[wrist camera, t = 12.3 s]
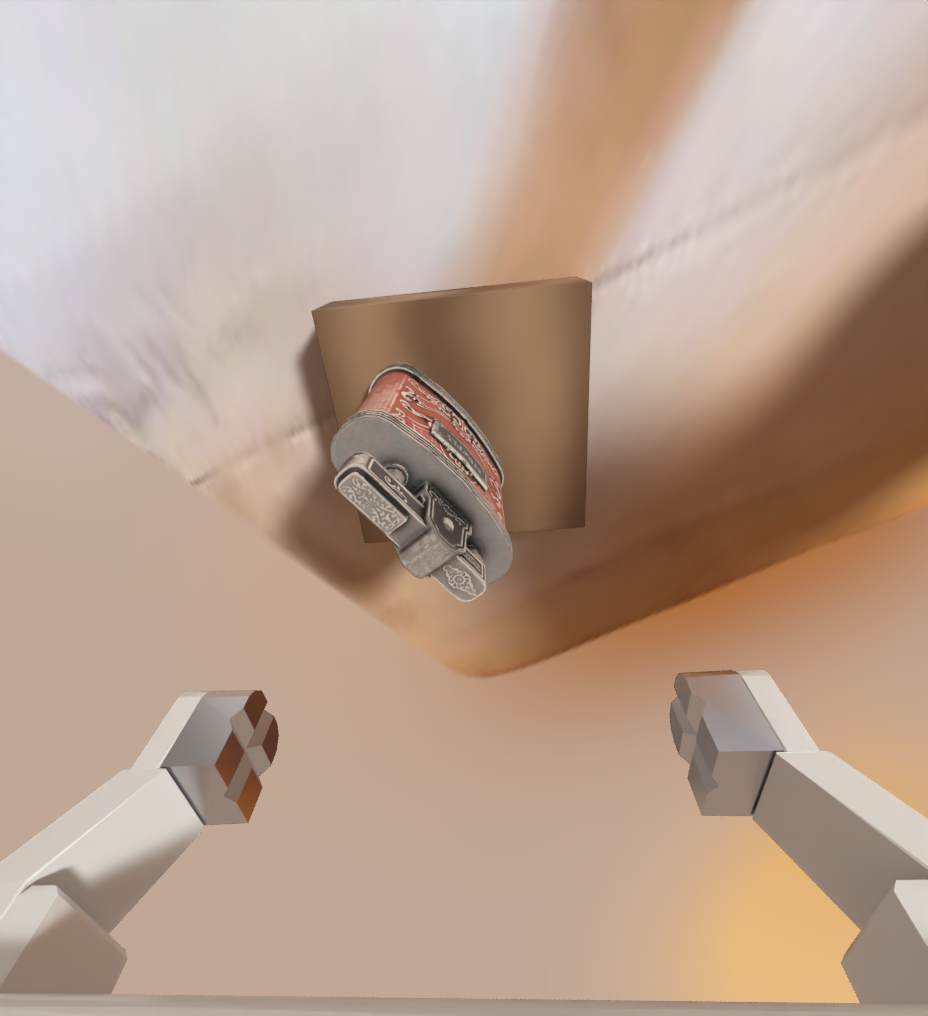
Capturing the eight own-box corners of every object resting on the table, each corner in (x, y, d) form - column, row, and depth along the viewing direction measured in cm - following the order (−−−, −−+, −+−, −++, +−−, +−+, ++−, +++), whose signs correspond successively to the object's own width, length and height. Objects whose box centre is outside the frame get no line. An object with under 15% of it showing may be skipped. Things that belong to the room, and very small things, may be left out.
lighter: (518, 470, 24) (542, 601, 16) (467, 508, 26) (464, 649, 17) (407, 345, 22) (360, 420, 13) (355, 393, 23) (280, 493, 14)
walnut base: (576, 276, 23) (592, 282, 20) (572, 496, 29) (584, 526, 26) (331, 301, 24) (311, 311, 21) (376, 511, 30) (365, 543, 27)
